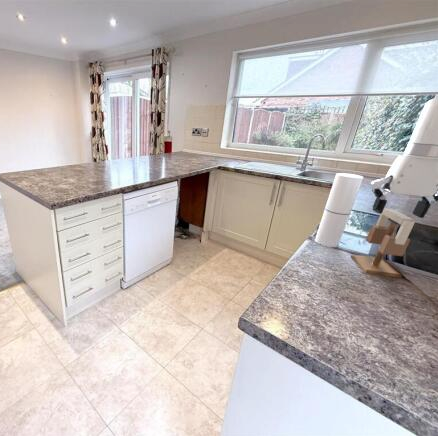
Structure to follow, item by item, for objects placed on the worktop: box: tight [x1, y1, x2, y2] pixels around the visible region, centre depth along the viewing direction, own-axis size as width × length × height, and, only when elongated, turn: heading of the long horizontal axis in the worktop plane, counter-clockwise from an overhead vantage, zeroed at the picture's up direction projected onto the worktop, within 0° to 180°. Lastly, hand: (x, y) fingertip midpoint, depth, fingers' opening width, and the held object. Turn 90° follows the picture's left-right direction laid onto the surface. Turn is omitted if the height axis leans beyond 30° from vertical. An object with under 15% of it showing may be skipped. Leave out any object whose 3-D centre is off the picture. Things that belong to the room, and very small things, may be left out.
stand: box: [350, 218, 404, 279], centre depth 72 cm, size 9×9×16 cm
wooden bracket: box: [365, 208, 416, 257], centre depth 71 cm, size 5×10×11 cm, turn 166°
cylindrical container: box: [314, 172, 364, 248], centre depth 85 cm, size 7×7×25 cm
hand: (396, 213), depth 69 cm, fingers open, 9 cm apart
